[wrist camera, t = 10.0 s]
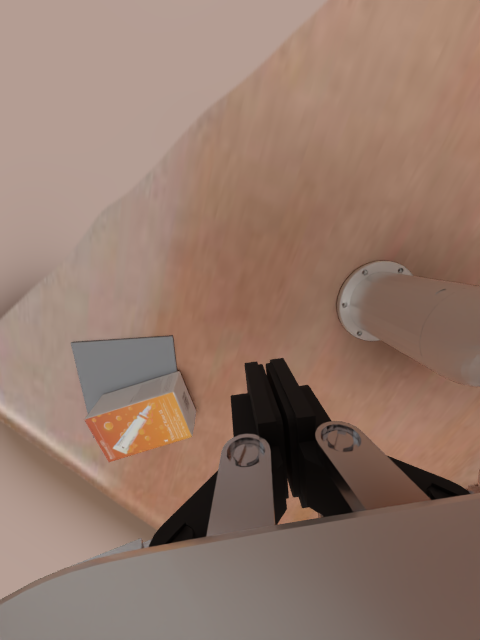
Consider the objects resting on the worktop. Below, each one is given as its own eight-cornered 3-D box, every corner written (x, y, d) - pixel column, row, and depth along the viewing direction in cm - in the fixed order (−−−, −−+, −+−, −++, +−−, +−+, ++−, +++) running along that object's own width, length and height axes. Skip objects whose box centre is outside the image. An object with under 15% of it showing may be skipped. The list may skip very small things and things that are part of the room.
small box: (193, 437, 37) (108, 464, 38) (197, 410, 43) (124, 433, 44) (172, 391, 35) (82, 419, 35) (179, 369, 41) (102, 393, 41)
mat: (172, 335, 40) (172, 336, 40) (184, 428, 45) (183, 429, 44) (72, 342, 39) (70, 343, 39) (94, 436, 44) (93, 437, 43)
